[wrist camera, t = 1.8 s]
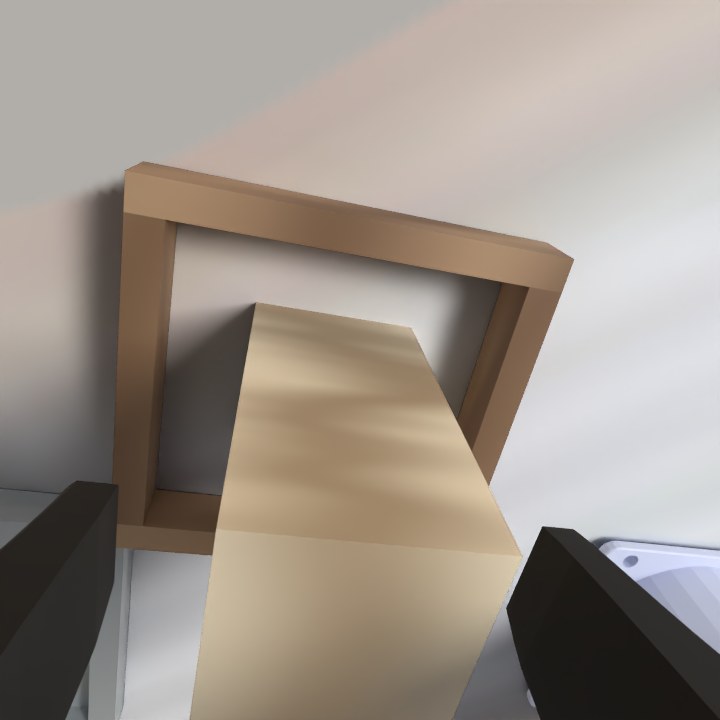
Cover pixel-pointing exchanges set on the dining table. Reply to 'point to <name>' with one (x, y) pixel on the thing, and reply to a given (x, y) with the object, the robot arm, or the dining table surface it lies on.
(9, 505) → the tray
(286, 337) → the peg
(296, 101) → the dining table surface
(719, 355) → the dining table surface
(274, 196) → the holder
